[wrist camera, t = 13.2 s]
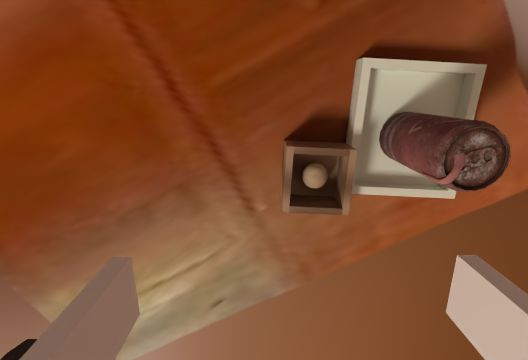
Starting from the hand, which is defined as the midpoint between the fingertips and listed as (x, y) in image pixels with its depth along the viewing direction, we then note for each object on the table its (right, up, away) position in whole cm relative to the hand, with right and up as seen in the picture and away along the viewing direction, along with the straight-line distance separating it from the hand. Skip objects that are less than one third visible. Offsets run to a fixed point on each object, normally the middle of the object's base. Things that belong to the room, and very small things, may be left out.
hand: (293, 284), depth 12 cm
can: (+16, +10, +26) cm, 32 cm away
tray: (+16, +11, +26) cm, 33 cm away
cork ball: (+5, +5, +27) cm, 28 cm away
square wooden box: (+5, +5, +28) cm, 28 cm away
